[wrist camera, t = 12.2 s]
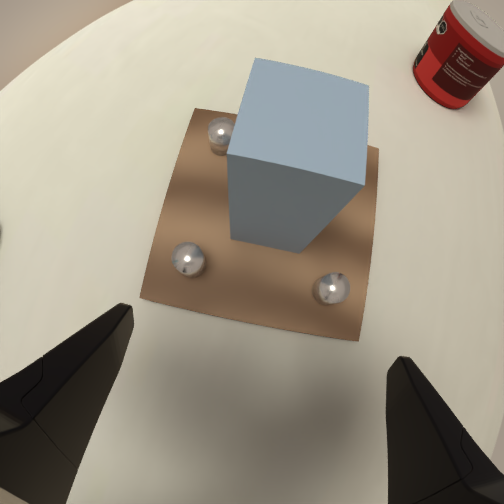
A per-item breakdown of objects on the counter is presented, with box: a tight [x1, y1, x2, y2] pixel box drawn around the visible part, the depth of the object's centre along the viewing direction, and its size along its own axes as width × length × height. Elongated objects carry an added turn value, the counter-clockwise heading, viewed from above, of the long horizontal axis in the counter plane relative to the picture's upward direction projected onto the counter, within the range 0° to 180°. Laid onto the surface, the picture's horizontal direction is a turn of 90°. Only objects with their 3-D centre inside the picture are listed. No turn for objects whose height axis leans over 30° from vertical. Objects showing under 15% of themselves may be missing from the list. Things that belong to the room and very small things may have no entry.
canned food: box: [413, 0, 504, 109], centre depth 24 cm, size 8×8×11 cm
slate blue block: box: [227, 58, 369, 254], centre depth 18 cm, size 5×5×12 cm
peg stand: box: [140, 108, 379, 341], centre depth 23 cm, size 16×16×3 cm
